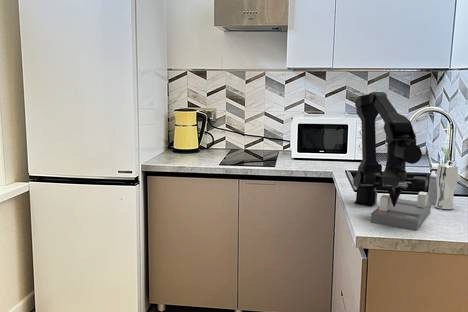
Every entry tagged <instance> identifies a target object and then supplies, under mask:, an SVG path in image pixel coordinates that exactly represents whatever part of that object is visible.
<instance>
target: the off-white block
mask: <svg viewBox="0 0 468 312" xmlns="http://www.w3.org/2000/svg"><path fill="white" fill-rule="evenodd" d="M427 200H428V192H425V191H419V192H418V194H417V200H416V201H417V207H422V208H425V207H426V205H427Z"/></svg>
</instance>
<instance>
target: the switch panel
mask: <svg viewBox="0 0 468 312" xmlns="http://www.w3.org/2000/svg"><path fill="white" fill-rule="evenodd" d="M417 201H418V200H409V199H403V198H402V199H401V198H398V201H397V203H396V205H395V207H393V204H392V201H390V209H389V210H388V211H387V212H386V211H380V210H379V207H380V205H379V206H378V207H377V208H376V209H374V211H372V212H371V213H370V214H371V216H370V223H372V222H373V224H379V225H385V226H390V227H395V228H396V227H397V228H401V229H407V230H413V231H418V230H419V229H420V227H421V226H422V224H423V223H424V221H425V220H426V218H427V217H428V216H429V215H430V213H431V210H432V209H431V208H432V204H431V203H427V205H426V207H425V208H422V207H417Z"/></svg>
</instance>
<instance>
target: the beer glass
mask: <svg viewBox="0 0 468 312" xmlns="http://www.w3.org/2000/svg"><path fill="white" fill-rule="evenodd" d="M436 171H437V174H436V189H437V199H436V203H435V204H434V207H435V208H438V209H442V210H453V209H454V195H455V192H456V188H457V184H458V177H459V166H456V165H450V164H449V165H448V164H438V165H437V169H436Z"/></svg>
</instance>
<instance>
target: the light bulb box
mask: <svg viewBox="0 0 468 312" xmlns="http://www.w3.org/2000/svg"><path fill="white" fill-rule="evenodd" d="M436 174H437V170H431V172H430V175H429V179H428V192H427V193H428V196H427V203H432V204H431V205H435V203H436V199H437V189H436Z"/></svg>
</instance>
